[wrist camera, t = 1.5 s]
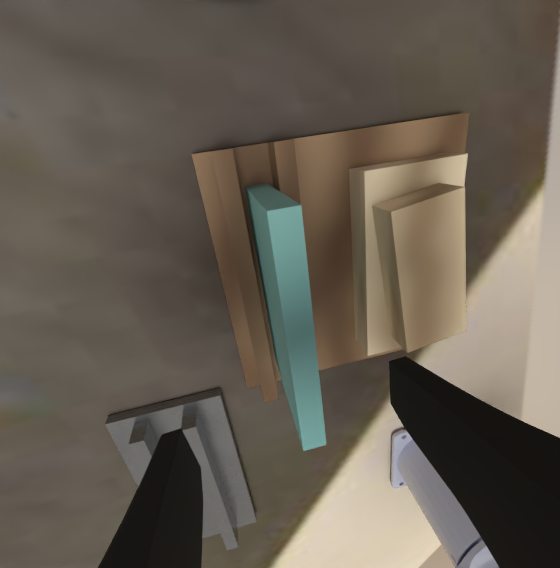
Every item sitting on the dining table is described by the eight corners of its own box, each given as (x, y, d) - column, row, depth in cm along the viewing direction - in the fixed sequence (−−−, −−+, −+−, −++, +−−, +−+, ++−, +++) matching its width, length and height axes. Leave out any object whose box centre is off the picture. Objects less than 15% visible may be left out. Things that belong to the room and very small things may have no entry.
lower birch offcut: (443, 153, 19) (467, 153, 17) (429, 321, 24) (447, 336, 22) (349, 168, 18) (364, 171, 16) (355, 339, 23) (367, 355, 21)
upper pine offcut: (438, 182, 17) (465, 186, 15) (444, 315, 21) (465, 330, 19) (371, 205, 17) (390, 211, 15) (390, 335, 21) (407, 352, 19)
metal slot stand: (219, 387, 23) (220, 414, 21) (255, 512, 30) (259, 543, 28) (108, 415, 22) (96, 446, 20) (171, 538, 29) (168, 572, 27)
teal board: (265, 183, 17) (301, 204, 10) (291, 355, 22) (326, 444, 16) (244, 186, 17) (266, 210, 10) (275, 359, 22) (303, 451, 15)
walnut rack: (459, 113, 19) (495, 108, 16) (437, 333, 25) (460, 352, 23) (192, 153, 17) (189, 154, 14) (246, 381, 23) (250, 407, 21)
